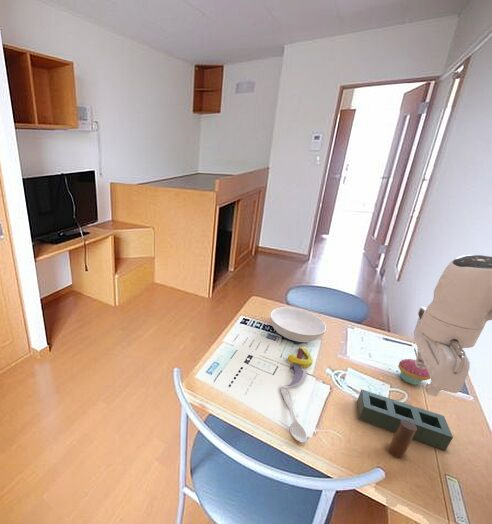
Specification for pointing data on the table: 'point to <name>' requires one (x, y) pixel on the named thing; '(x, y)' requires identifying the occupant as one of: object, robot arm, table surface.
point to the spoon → (295, 426)
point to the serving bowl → (297, 324)
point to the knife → (299, 365)
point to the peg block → (404, 418)
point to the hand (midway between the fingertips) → (424, 379)
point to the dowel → (402, 438)
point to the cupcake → (412, 372)
